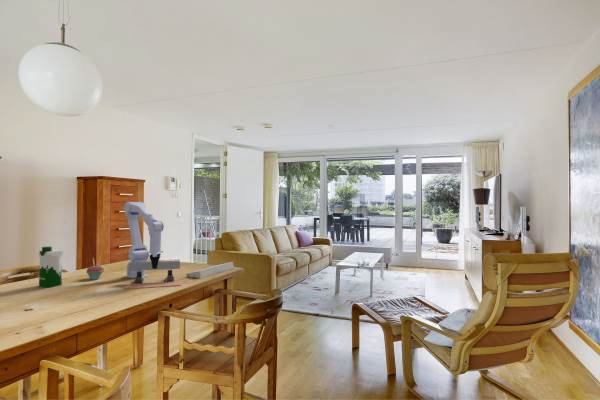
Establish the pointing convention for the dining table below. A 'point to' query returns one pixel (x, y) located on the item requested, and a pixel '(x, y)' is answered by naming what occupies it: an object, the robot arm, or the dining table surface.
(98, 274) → the cupcake
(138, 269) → the rail
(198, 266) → the dining table surface
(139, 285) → the mat
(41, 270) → the milk carton
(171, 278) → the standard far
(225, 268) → the decorative molding
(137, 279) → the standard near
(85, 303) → the dining table surface
